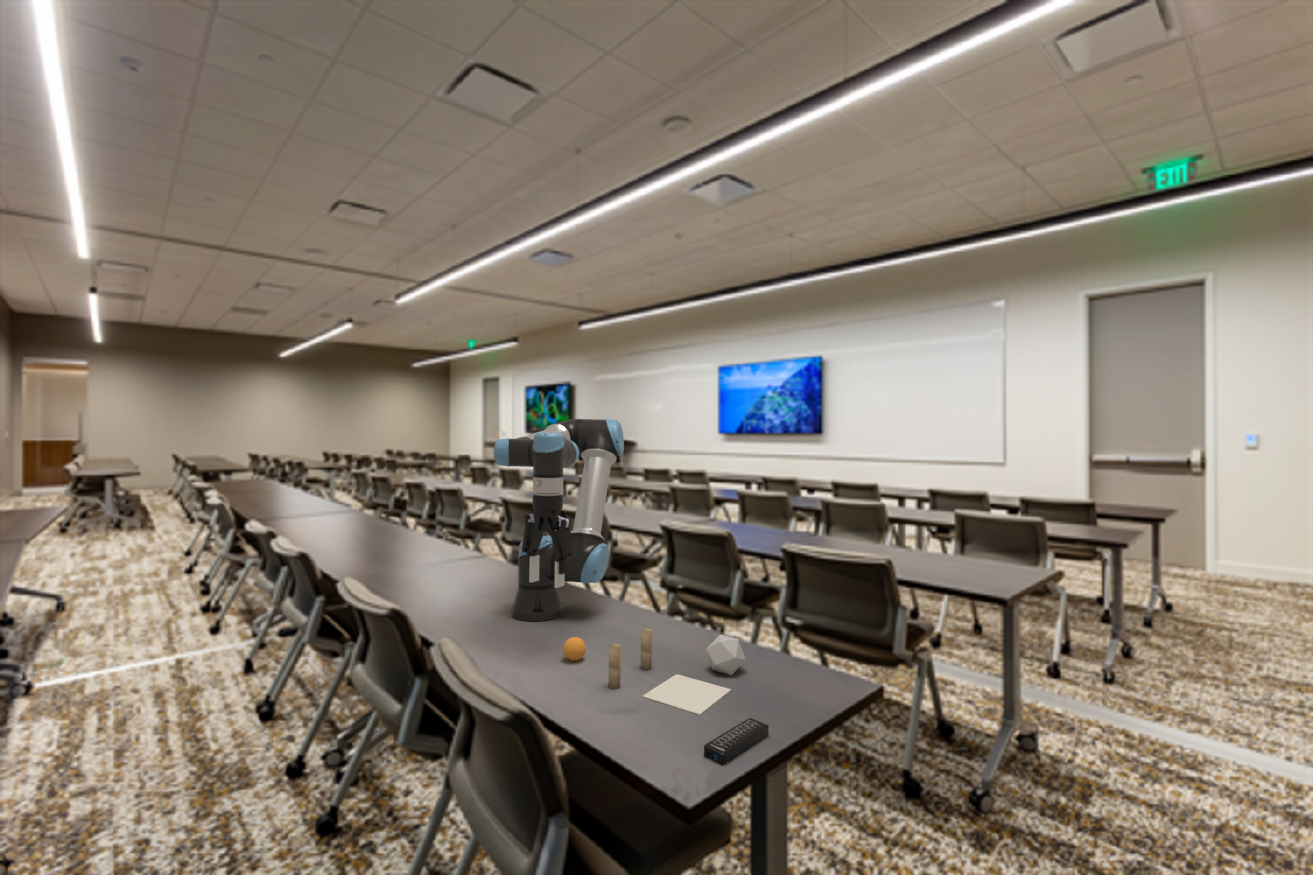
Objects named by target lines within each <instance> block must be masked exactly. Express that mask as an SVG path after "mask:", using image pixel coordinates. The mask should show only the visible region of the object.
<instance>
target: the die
mask: <svg viewBox="0 0 1313 875" xmlns="http://www.w3.org/2000/svg"><path fill="white" fill-rule="evenodd" d="M705 652H706V655H707V656H708V660H709V664H710V665H711V668H712V669H711V670H712V671H715V672H719V673H722V674H726V675H729V676H733V674H735V672H736V671H737V670H738V669H739V668H741V667H740V666H742V665H743V663H745V661H746V660H747V659H746V656H745V654H744V651H743V648H742V645H741V643H740V640H739V638H735V637H732V636H728V635H723V634H719V635H718V636H717V637H716V638H715V639H714V640H713V641H712V642H711V643H710V644H709V645H708V646H707V648H705Z"/></svg>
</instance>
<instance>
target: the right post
mask: <svg viewBox="0 0 1313 875" xmlns="http://www.w3.org/2000/svg"><path fill="white" fill-rule="evenodd" d="M640 632H641V633H640V669H641V670H643V671H649V670H652V664H653V662H652V660H653V658H652V656H653V653H652V652H653V629H652V628H642V629H641V631H640Z"/></svg>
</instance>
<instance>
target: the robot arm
mask: <svg viewBox="0 0 1313 875" xmlns="http://www.w3.org/2000/svg"><path fill="white" fill-rule="evenodd" d="M623 431H624V430H623V428H622V425H621V423H620V421H618V420H617V419H608V418H605V419H599V418H598V419H597V418H596V419H595V418H571V419H568V420H564V421H560V422H556V423H553V424H550V425H548V426H546V427H545V428H544V430H541V431H537V432H534V433H531V434H528V435H524V436H521V437H517V438H510V437H507V438H498V440H497V441H496V442H495V444H494V446H493V460H494V462H495V463H496V464H497V465H498V466H501V467H508V468H510V467H521V468H522V467H523V468H524V467H527V468H528V467H529V468H531V467H532V492H533V493H534V494H533V495H532V509H533V510H534V513H530V514H529V513H528V514H525V515H524V522H525V525H524V532H523V540H522V541H521V542H520V543H519V545H518V555H517V557H518V558H517V559H518V561H517V562H518V565H517V566H518V567H517V569H518V571H517V573H518V575H517V576H518V581H517V582H518V583H517V584H518V586H517V592H516V595H515V598H514V603H513V604H512V606H511V607H512V608H511V616H512V617H513V618H514V619H516V620H519V621H525V622H541V621H544V622H545V621H550V620H554V619H557V618H559V617H561V616H562V615H563V613H564V611H563V607H564V604H563V603H562V602H561V601H562V600H561V597H560V593H559V590H558V588H560V587H561V588H562V587H564V586H565V582H567V583H568V582H570V583H581V584H596V583H598V582H600V581H601V580H602V579H603V578H604V576H605V574H606V571H607V568H608V564H609V559H610V558H609V556H610V550H609V546H608V545H607V544H606V543H605V541H606V540H605V538H604V537H603V536H602V534H601V533H602V528H603V521H604V513H605V508H606V507H605V506H606V501H607V500H606V499H607V494H608V487H609V480H610V475H611V468H612V465H614V464H615V463H616V462H617V458H618V456H622V455H623V454H624V451H625V449H624V448H625V440H624V432H623ZM580 457H581V458H582V460H583V461H584V465H583V470H582V475H581V481H580V487H579V492H578V498H577V505H576V511H575V517H574V522H573V526H572V519H571V518H565V517H563V515H562V513H561V512H562V510H563V507H564V495H562V493H563V492H564V468H565V469H567V468H569V467H572V466H573V465H575V464H576V463H577V461H578V460H579V458H580ZM571 526H572V527H573V528H572V529H573V530H571ZM546 532H547V534H548V535H544V534H545V533H546Z"/></svg>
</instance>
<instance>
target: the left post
mask: <svg viewBox="0 0 1313 875" xmlns="http://www.w3.org/2000/svg"><path fill="white" fill-rule="evenodd" d="M621 653H622V645H621V644H620V643H610V644H609V645H608V688H609V689H612V690H614V689H615V690H616V689H619V688H621V669H622V668H621V666H622V665H621V660H622V659H621V656H622V654H621Z"/></svg>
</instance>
